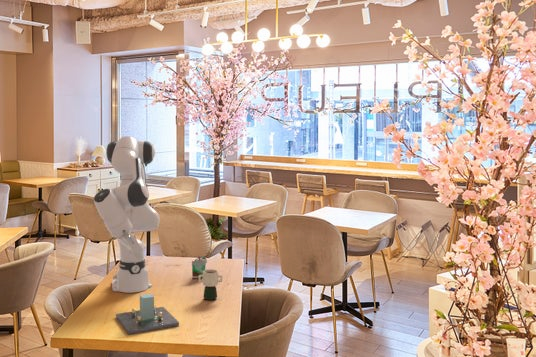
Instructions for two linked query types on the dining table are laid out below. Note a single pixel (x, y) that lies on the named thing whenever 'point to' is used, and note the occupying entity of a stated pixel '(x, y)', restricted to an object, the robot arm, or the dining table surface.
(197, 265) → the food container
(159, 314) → the plate
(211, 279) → the character mug
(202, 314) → the dining table surface
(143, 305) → the module block
